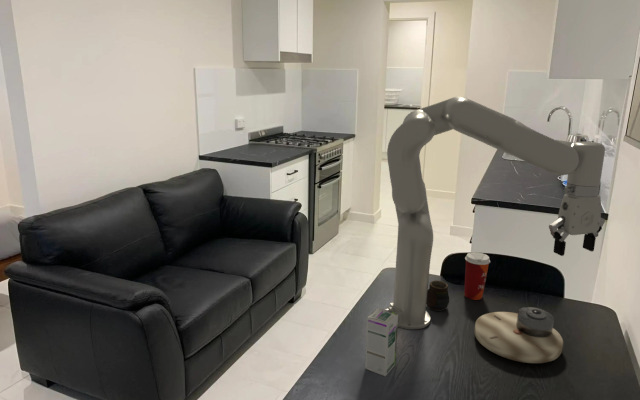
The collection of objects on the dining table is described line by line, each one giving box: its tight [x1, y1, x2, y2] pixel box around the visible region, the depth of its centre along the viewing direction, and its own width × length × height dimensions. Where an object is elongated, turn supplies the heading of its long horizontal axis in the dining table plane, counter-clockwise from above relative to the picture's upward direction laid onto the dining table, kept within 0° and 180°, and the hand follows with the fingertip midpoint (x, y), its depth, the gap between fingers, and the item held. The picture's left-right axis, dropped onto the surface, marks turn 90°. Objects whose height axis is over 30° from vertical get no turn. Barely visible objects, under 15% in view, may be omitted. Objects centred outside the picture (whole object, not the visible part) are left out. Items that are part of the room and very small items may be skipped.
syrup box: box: [364, 307, 398, 377], centre depth 117 cm, size 6×6×14 cm
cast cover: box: [516, 306, 555, 337], centre depth 130 cm, size 9×9×5 cm
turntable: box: [474, 311, 564, 364], centre depth 129 cm, size 22×22×2 cm
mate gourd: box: [426, 279, 450, 312], centre depth 147 cm, size 7×8×10 cm
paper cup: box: [464, 251, 491, 301], centre depth 155 cm, size 8×8×14 cm
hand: (573, 251), depth 129 cm, fingers open, 9 cm apart
